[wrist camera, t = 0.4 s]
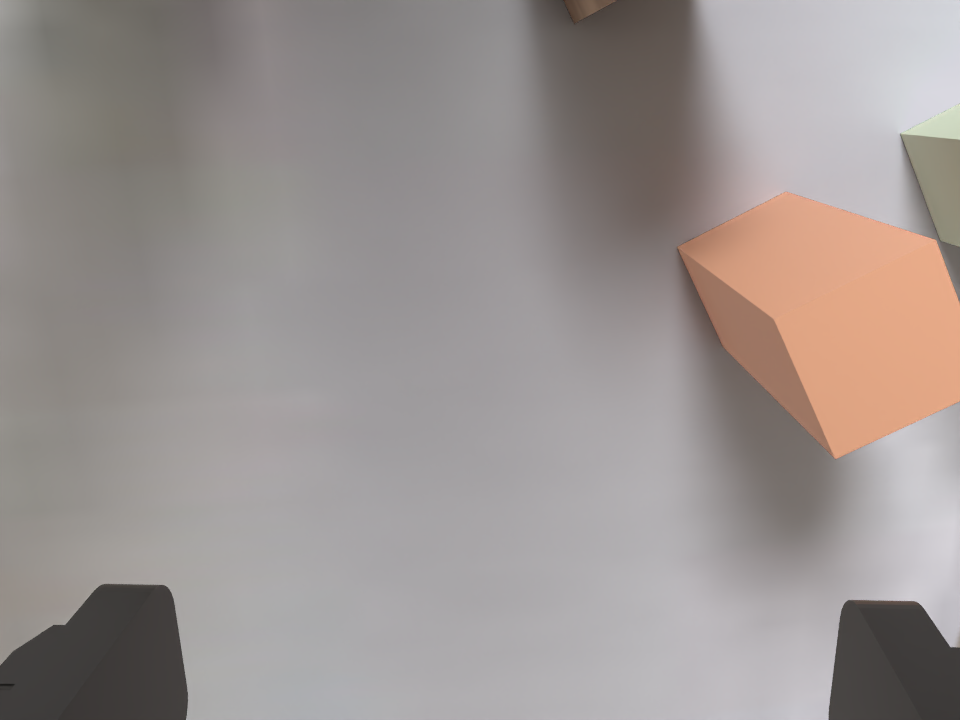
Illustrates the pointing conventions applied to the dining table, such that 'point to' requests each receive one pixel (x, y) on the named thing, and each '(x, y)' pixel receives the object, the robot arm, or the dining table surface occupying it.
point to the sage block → (938, 169)
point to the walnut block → (585, 7)
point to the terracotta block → (833, 316)
